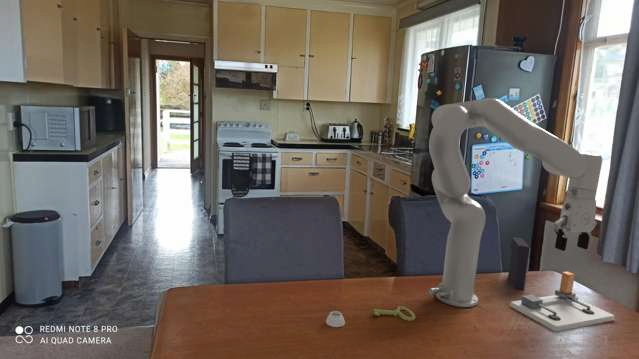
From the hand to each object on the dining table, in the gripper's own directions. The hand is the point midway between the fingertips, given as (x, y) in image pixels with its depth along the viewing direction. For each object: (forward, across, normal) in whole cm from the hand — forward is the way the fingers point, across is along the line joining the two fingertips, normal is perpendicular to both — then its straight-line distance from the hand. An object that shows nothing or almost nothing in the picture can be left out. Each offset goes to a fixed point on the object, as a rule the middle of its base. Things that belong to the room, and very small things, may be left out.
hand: (571, 248), depth 138 cm
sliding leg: (+16, +1, -3) cm, 16 cm away
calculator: (+19, 0, +18) cm, 26 cm away
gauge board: (+18, -5, -4) cm, 20 cm away
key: (+20, -55, +8) cm, 59 cm away
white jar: (+20, -74, +9) cm, 77 cm away
